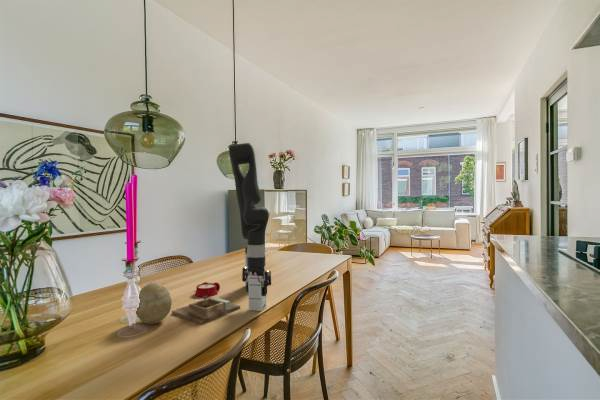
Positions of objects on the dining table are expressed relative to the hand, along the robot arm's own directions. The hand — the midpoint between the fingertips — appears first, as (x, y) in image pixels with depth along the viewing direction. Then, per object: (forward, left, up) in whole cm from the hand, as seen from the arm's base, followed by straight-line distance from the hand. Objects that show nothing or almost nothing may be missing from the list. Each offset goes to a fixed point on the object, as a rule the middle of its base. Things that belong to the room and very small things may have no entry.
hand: (256, 293), depth 138 cm
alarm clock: (-3, -35, -7) cm, 36 cm away
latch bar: (+10, -11, -5) cm, 16 cm away
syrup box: (0, 0, -6) cm, 6 cm away
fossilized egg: (+33, -22, -6) cm, 40 cm away
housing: (+14, -15, -6) cm, 21 cm away
